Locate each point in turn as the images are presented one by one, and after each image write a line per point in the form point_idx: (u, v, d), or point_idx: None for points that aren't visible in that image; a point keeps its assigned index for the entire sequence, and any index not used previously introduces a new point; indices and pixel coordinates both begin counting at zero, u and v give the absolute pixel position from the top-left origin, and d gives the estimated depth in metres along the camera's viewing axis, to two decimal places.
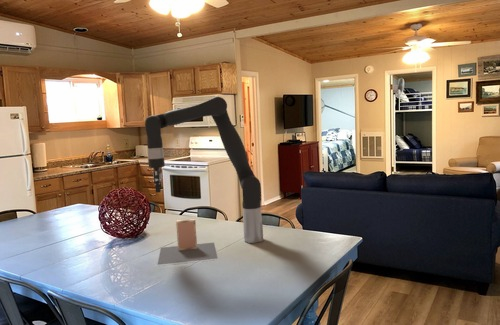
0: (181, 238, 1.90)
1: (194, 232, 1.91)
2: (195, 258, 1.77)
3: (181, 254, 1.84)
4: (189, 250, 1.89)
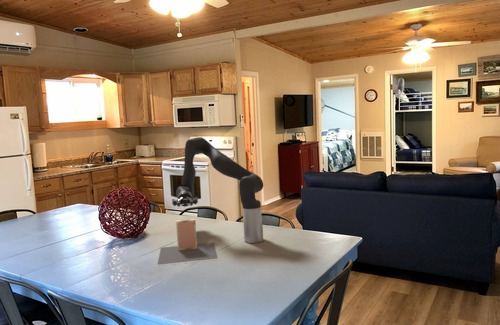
0: (181, 238, 1.90)
1: (194, 232, 1.91)
2: (195, 258, 1.77)
3: (181, 254, 1.84)
4: (189, 250, 1.89)
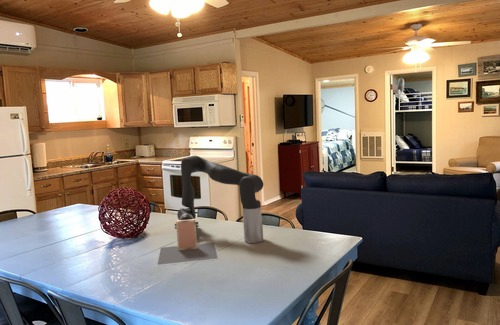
0: (181, 238, 1.90)
1: (194, 232, 1.91)
2: (195, 258, 1.77)
3: (181, 254, 1.84)
4: (189, 250, 1.89)
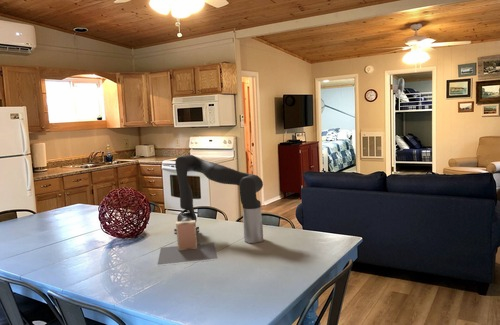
0: (181, 239, 1.89)
1: (194, 233, 1.89)
2: (195, 258, 1.77)
3: (181, 254, 1.84)
4: (189, 250, 1.89)
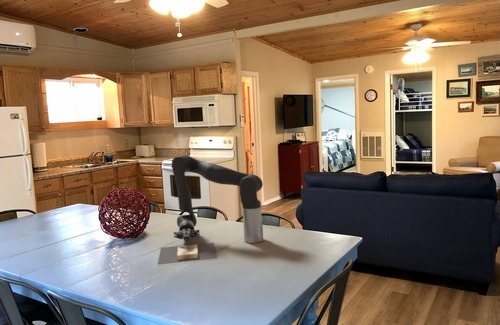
0: None
1: None
2: (195, 258, 1.77)
3: None
4: None
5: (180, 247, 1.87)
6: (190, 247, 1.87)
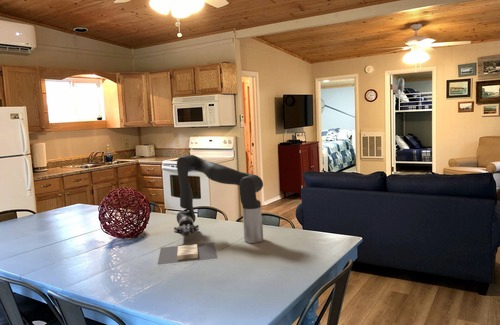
0: None
1: None
2: (195, 258, 1.77)
3: None
4: None
5: (180, 247, 1.87)
6: (190, 247, 1.87)
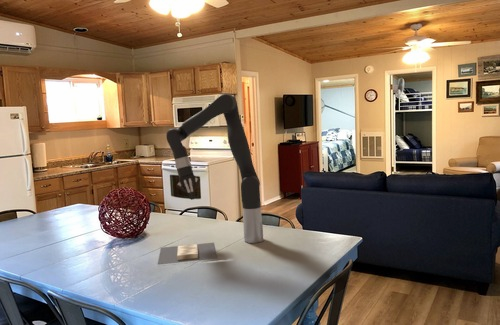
0: None
1: None
2: (195, 258, 1.77)
3: None
4: None
5: (180, 247, 1.87)
6: (190, 247, 1.87)
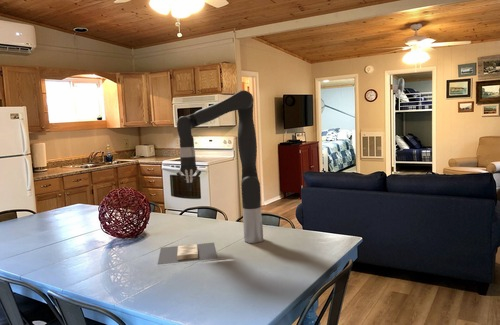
0: None
1: None
2: (195, 258, 1.77)
3: None
4: None
5: (180, 247, 1.87)
6: (190, 247, 1.87)
